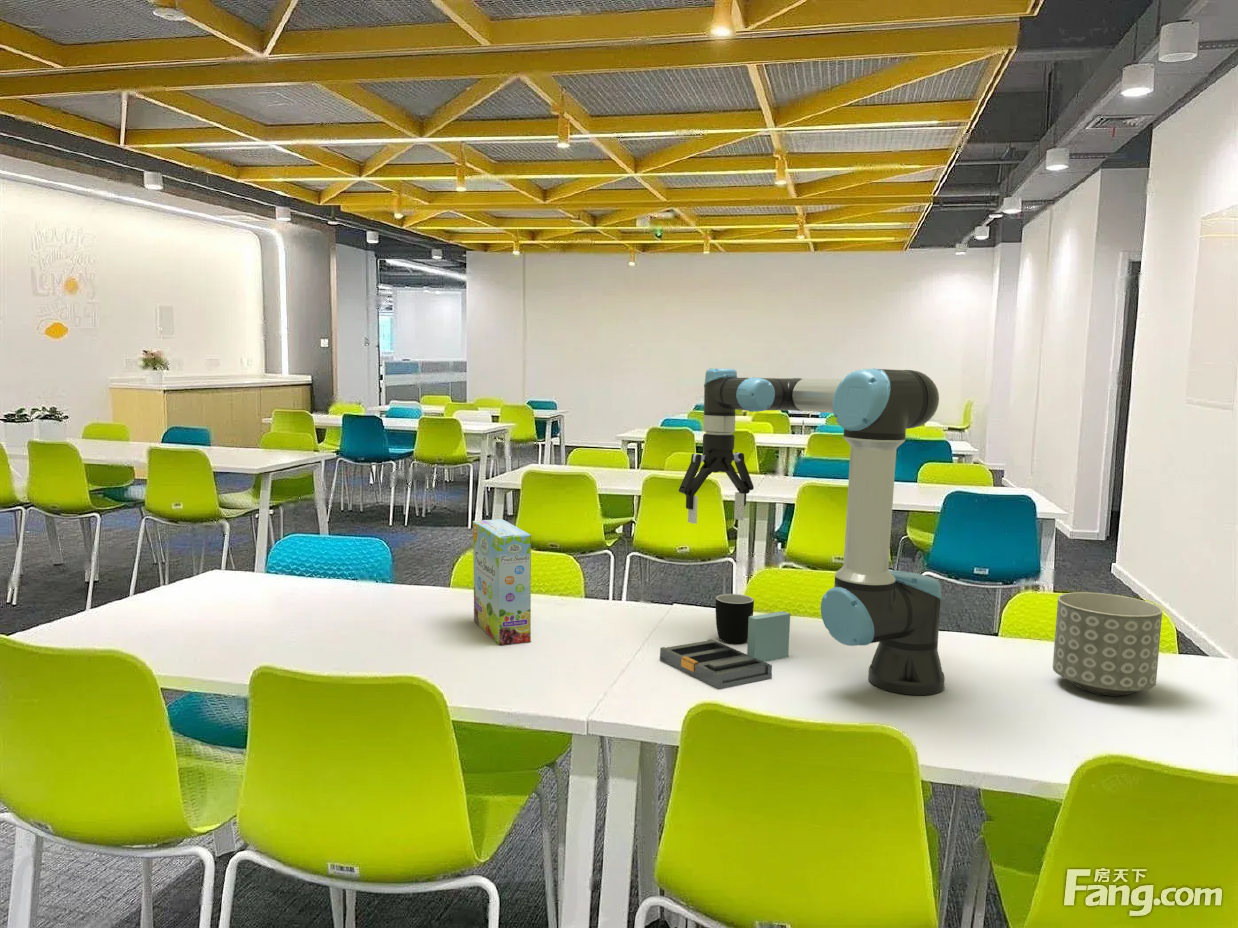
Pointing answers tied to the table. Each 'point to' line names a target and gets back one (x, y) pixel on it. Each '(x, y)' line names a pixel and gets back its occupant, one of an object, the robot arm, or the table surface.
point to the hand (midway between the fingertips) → (715, 521)
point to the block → (769, 636)
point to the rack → (716, 663)
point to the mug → (733, 617)
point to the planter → (1107, 642)
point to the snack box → (502, 581)
